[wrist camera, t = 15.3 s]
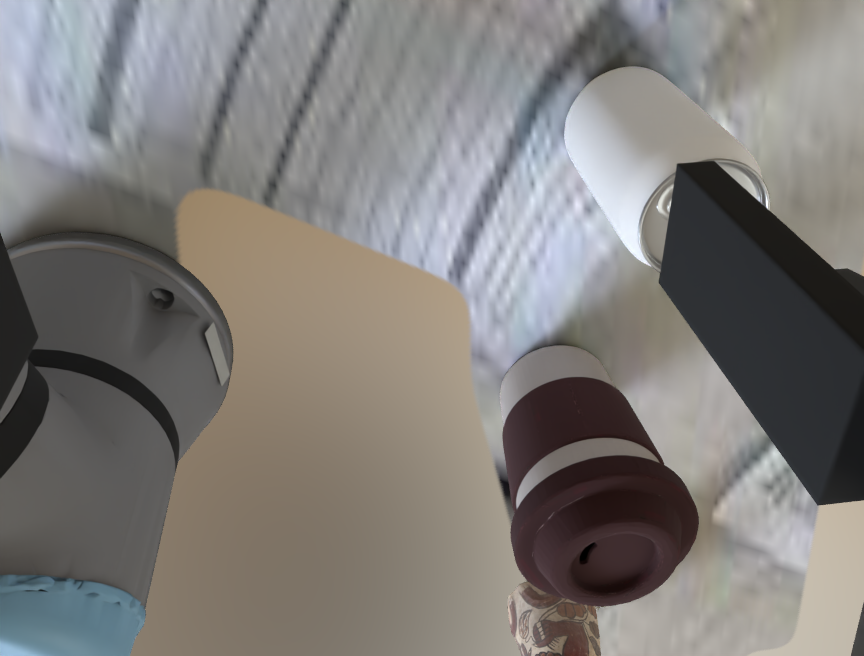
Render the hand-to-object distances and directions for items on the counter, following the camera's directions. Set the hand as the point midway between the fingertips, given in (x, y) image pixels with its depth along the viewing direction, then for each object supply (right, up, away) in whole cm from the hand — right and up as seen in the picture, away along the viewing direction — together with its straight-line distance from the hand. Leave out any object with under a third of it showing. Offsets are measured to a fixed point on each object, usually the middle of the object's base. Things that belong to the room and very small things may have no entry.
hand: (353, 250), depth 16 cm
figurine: (+11, -24, +50) cm, 57 cm away
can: (+12, +10, +27) cm, 31 cm away
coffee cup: (+10, -5, +37) cm, 39 cm away
